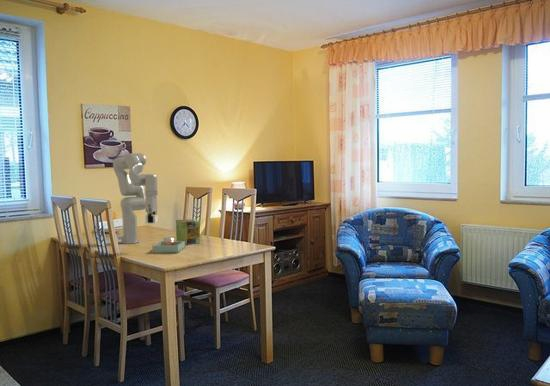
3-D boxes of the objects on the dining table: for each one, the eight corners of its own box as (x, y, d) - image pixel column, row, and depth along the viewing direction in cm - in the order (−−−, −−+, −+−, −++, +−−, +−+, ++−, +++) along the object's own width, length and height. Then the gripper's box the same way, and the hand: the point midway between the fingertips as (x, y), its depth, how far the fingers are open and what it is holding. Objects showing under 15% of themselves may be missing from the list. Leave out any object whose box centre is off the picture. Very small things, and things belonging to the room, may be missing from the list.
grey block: (145, 223, 297) (145, 215, 296) (148, 222, 303) (148, 214, 303) (155, 223, 296) (154, 215, 296) (158, 222, 303) (157, 214, 302)
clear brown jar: (162, 249, 294) (162, 238, 294) (165, 247, 301) (165, 237, 300) (172, 249, 294) (172, 238, 293) (175, 247, 300) (175, 237, 300)
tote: (152, 252, 290) (152, 245, 290) (160, 248, 306) (160, 241, 306) (178, 253, 289) (178, 245, 288) (184, 248, 305) (184, 241, 304)
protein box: (186, 245, 316) (186, 222, 314) (176, 242, 327) (175, 220, 326) (200, 243, 322) (200, 220, 321) (189, 240, 334) (188, 218, 333)
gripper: (150, 193, 307) (151, 220, 309) (140, 194, 290) (141, 223, 291) (161, 192, 307) (162, 220, 308) (152, 194, 290) (153, 223, 291)
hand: (152, 221), depth 300 cm, fingers closed on grey block, 6 cm apart
